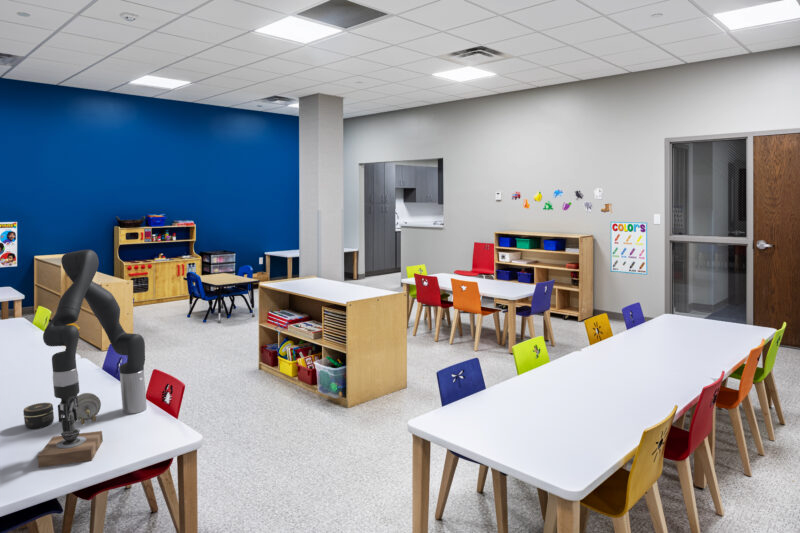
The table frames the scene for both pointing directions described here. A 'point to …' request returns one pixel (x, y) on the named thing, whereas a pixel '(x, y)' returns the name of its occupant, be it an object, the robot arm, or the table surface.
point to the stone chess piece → (71, 433)
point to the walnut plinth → (70, 450)
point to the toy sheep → (88, 407)
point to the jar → (38, 415)
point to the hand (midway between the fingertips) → (70, 426)
